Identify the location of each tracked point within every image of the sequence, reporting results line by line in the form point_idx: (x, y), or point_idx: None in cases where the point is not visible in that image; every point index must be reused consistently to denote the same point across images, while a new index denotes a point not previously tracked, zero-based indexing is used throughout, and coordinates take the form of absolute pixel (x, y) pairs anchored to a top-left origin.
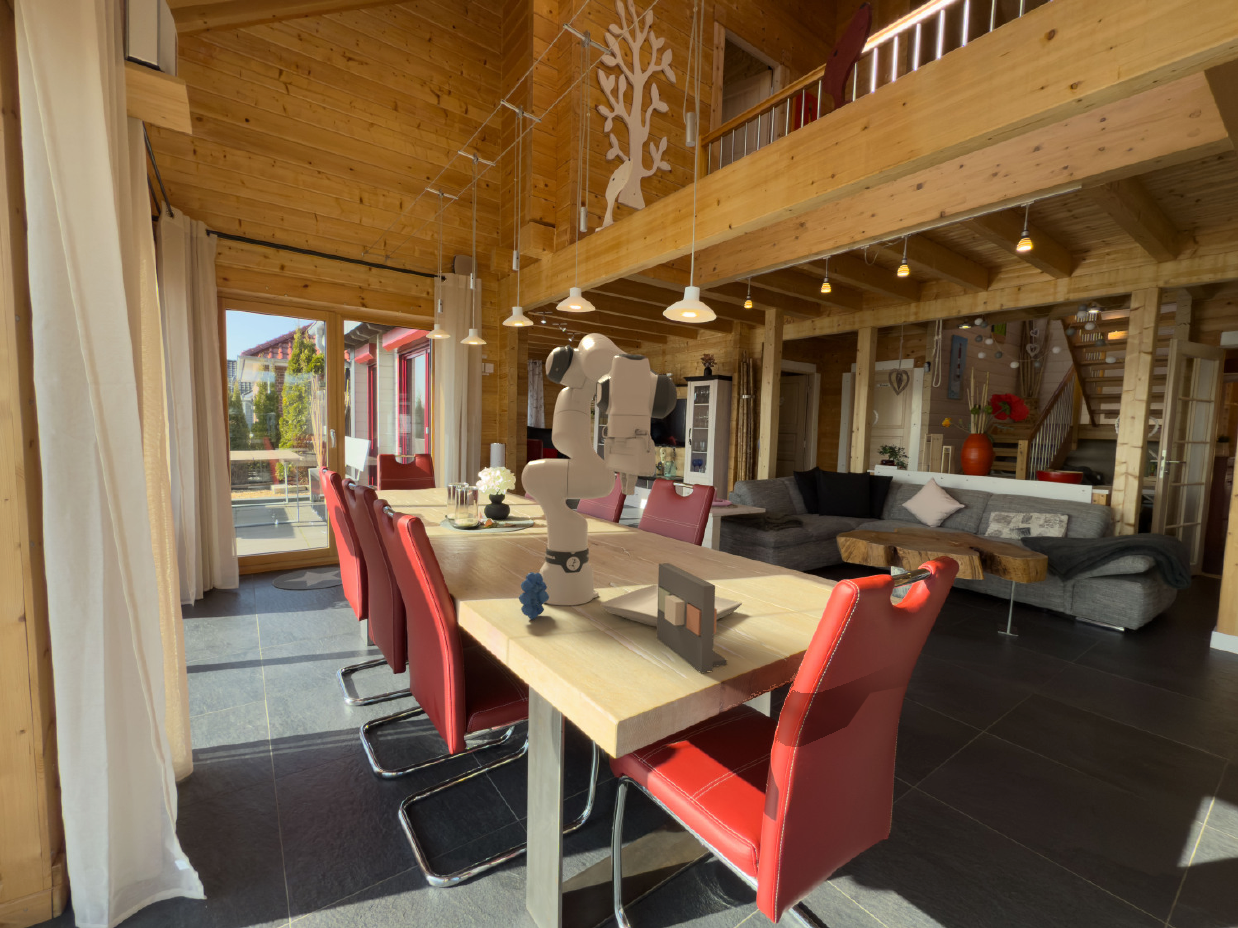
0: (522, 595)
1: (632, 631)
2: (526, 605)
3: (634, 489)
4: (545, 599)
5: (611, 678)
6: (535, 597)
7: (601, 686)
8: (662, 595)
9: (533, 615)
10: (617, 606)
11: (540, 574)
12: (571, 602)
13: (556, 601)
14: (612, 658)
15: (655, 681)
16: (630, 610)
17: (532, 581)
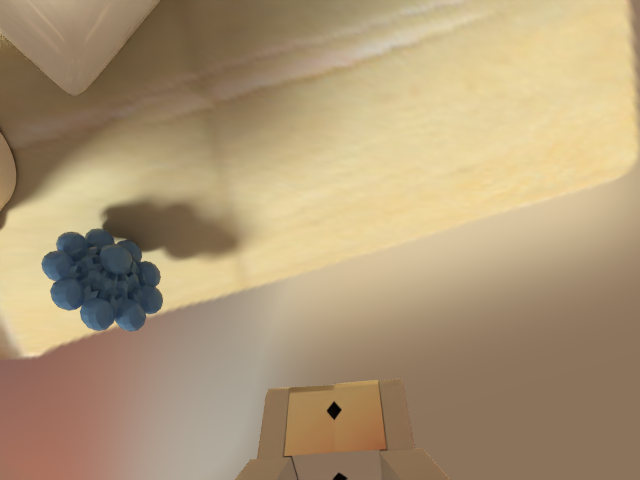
0: (156, 311)
1: (222, 19)
2: (152, 284)
3: (408, 418)
4: (128, 252)
5: (488, 146)
6: (135, 277)
7: (513, 171)
8: None
9: (140, 251)
10: (36, 23)
11: (62, 294)
12: (3, 151)
13: (7, 189)
14: (393, 121)
15: (541, 58)
16: (146, 14)
17: (112, 309)
